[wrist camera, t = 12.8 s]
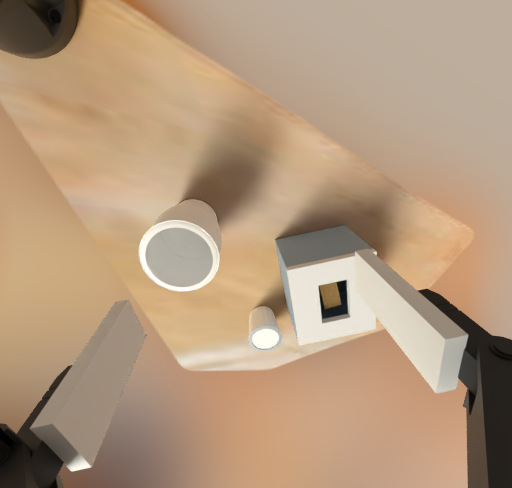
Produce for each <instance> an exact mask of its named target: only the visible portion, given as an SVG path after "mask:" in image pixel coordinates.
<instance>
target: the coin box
mask: <svg viewBox="0 0 512 488" xmlns="http://www.w3.org/2000/svg"><path fill="white" fill-rule="evenodd" d="M275 242H276V248H277V253H278V259H279V265H280V271H281V276H282V282H283V288H284V293H285V299H286V304H287V307H288V311H289V314H290V317H291V320H292V323H293V326H294V330H295V333H296V336H297V339H298V342H299V345H305V344H309V343H314V342H319V341H323V340H328V339H333V338H338V337H342V336H347V335H352V334H356V333H361V332H366V331H370V330H375V329H376V316H375V314H374V313H373V312H372V311H371V309H370V308H369V307H368V305H367V304H366V303H365V302H364V300H363V299H362V298H361V296H360V295H359V294H358V293H357V291H356V272H355V251H358V250H363V249H369V250H371V251H372V252H373V253H374V254H375V255H376V256H377V251H376V250H375V249H373V248H372V247H371V246H370V245H369V244H367V243H366V242H365V241H364V240H363V239H361V238H360V237H359V236H358V235H357V234H355V233H354V232H353V231H352V230H350V229H349V228H348V227H347V226H346V225H341V226H336V227H332V228H327V229H322V230H318V231H313V232H308V233H304V234H299V235H294V236H290V237H285V238H280V239H276V240H275ZM334 282H337V287H338V291H339V296H340V301H341V305H338V306H335V307H331V308H328V309H325V308H324V306H323V304H322V302H321V300H320V297H319V287H318V286H319V285H324V284H329V283H334Z"/></svg>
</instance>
